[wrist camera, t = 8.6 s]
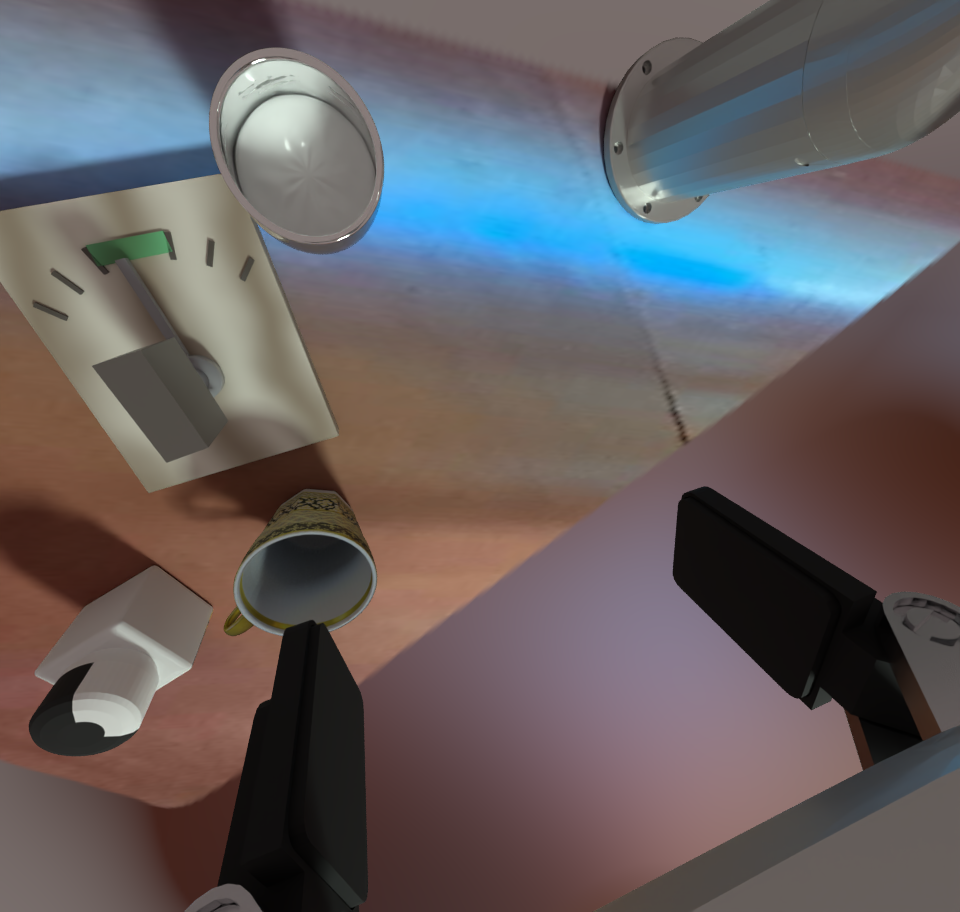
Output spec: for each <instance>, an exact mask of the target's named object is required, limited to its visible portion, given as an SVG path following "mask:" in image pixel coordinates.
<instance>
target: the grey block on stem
mask: <svg viewBox="0 0 960 912" xmlns="http://www.w3.org/2000/svg"><path fill="white" fill-rule="evenodd" d="M115 262H116V264H117V266H118V267H119V269H120V270H121V272H122V273H123V275H124V276H125V278H126V279H127V281H128V282H129V284H130V285H131V287H132V288H133V290H134V291H135V293H136V294H137V296H138V297H139V299H140V301H141V302H142V304H143V305H144V307H145V308H146V310H147V311H148V313H149V314H150V316H151V317H152V319H153V320H154V322H155V323H156V325H157V326H158V328H159V329H160V331H161V332H162V334H163V336H164V337H165V339H166V340H164V341H161V342H158V343H155V344H152V345H149V346H146V347H143V348H139V349H136V350H133V351H131V352H128V353H125V354H123V355H120V356H117V357H114V358H112V359H109V360H106V361H103V362H101V363H98V364H95V365H92V367H93V368H94V370H95V371H96V372H97V374H98V375H99V376H100V377H101V379H102V380H103V381H104V383H105V384H106V385H107V387H108V388H109V389H110V390H111V392H112V393H113V394H114V396H115V397H116V398H117V399H118V401H119V402H120V403H121V405H122V406H123V407H124V409H125V410H126V411H127V412H128V414H129V415H130V416H131V418H132V419H133V420H134V421H135V423H136V424H137V425H138V427H139V428H140V429H141V431H142V432H143V433H144V434H145V436H146V437H147V438H148V440H149V441H150V442H151V443H152V445H153V446H154V447H155V449H156V450H157V451H158V453H159V454H160V455H161V456H162V458H163V459H164V460H165V462H166V463H168V462H171V461H173V460H176V459H179V458H181V457H184V456H187V455H190V454H192V453H195V452H198V451H200V450H203V449H206V448H208V447H209V446H210V445H211V443H212V442H213V441H214V439H215V438H216V437H217V436H218V434H219V433H220V432H221V430H222V429H223V428H224V426H225V425H226V424H227V422H228V419H227V418H226V416H225V414H224V413H223V411H222V410H221V408H220V407H219V405H218V404H217V402H216V401H215V399H214V397H215V396H216V395H217V394H218V393H219V392H220V391H221V390H222V389H223V386H224V383H225V377H224V374H223V371H222V369H221V368H220V367H219V365H218V364H217V363H215V362H214V361H213V360H211V359H210V358H207V357H205V356H201V355H190V354H189V352H188V351H187V349H186V348H185V346H184V345H183V343H182V342H181V340H180V338H179V337H178V335H177V334H176V332H175V331H174V329H173V327H172V326H171V324H170V323H169V321H168V320H167V318H166V317H165V315H164V313H163V312H162V310H161V309H160V307H159V306H158V304H157V302H156V301H155V299H154V298H153V296H152V295H151V293H150V292H149V290H148V288H147V287H146V285H145V284H144V282H143V281H142V279H141V277H140V276H139V274H138V273H137V271H136V270H135V268H134V267H133V265H132V263H131V262H130V260H129V259H128V258H122V259H119V260H115Z"/></svg>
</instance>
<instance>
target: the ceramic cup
mask: <svg viewBox="0 0 960 912" xmlns="http://www.w3.org/2000/svg"><path fill="white" fill-rule="evenodd" d="M376 585H377V571H376V566H375V563H374V559H373V556H372V554H371V551H370V549H369V546H368V544H367V542H366V540H365V538H364V537H363V534H362V532H361V529H360V527H359V525H358V522H357V520H356V517H355V515H354V513H353V510H352V509H351V507H350V506H349V505H348V504H347V503H346V502H345V501H344V500H343V499H342V498H341V497H340V495H339V494H338V493H337V492H335V491H327V490H315V489H304V490H302V491H301V492H299V493H298V494H296V495H295V496H293V497H292V498H290V499H289V500H287V501H286V502H284V503H283V504H282V505H281V506H280V507H279V508H278V509H277V511H276V513H275V514H274V516H273V517H272V519H271V520H270V521H269V523H268V524H267V526H266V527H265V529H264V531H263V532H262V533H261V534H260V536H259V537H258V538H257V539H256V540H255V542H254V543H253V545H252V546H251V548H250V549H249V551H248V552H247V554H246V556H245V557H244V559H243V561H242V563H241V565H240V567H239V569H238V571H237V573H236V576H235V579H234V587H233V592H234V598H235V602H236V605H237V607H236V608H235V609H234V610H233V611H232V613H231V614H230V615H229V617H228V618H227V620H226V622H225V625H224V631H225V633H226V634H228V635H230V636H237V635H240V634H242V633H244V632H246V631H247V630H249V629H250V628H251V627H252V626H253V625H255V626H256V627H258V628H260V629H262V630H264V631H266V632H269V633H272V634H276V635H280V636H283V634H284V631H285V629H286V628H288V627H291V626H294V625H297V624H300V623H303V622H306V621H309V620H314V621H315V622H316V624H317V625H318V624H320V623H324V624H325V625H326V627H327V629H328V631H329V632H331V631H333V630H336V629H338V628H340V627H342V626H344V625H346V624H347V623H349V622H351V621H352V620H353V619H355V618H356V617H357V616H358V615H359V614H360V613H362V611H363V610H364V609H365V608H366V607H367V605H368V604H369V602H370V601H371V599H372V597H373V595H374V592H375V589H376ZM241 613H242V616H241V617H239V618H238V616H239V615H240V614H241ZM237 618H238V619H237ZM236 619H237V620H236Z"/></svg>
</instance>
